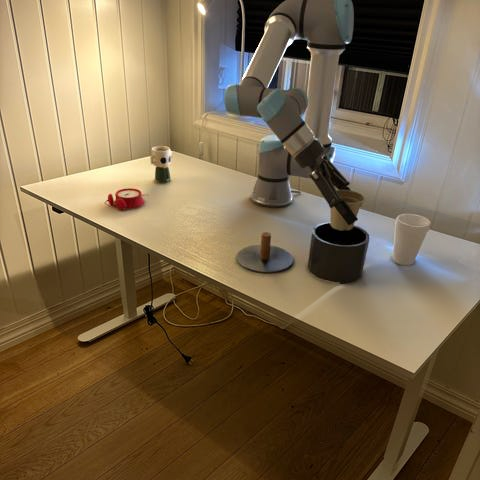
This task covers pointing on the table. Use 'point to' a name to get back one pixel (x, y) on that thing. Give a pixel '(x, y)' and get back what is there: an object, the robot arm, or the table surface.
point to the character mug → (161, 162)
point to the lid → (264, 257)
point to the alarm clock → (126, 199)
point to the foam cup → (409, 237)
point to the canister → (337, 253)
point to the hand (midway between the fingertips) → (355, 214)
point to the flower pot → (354, 204)
